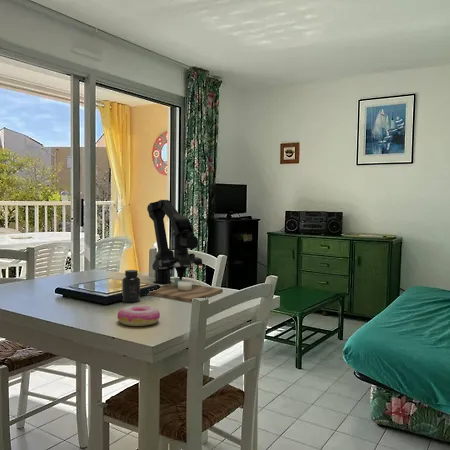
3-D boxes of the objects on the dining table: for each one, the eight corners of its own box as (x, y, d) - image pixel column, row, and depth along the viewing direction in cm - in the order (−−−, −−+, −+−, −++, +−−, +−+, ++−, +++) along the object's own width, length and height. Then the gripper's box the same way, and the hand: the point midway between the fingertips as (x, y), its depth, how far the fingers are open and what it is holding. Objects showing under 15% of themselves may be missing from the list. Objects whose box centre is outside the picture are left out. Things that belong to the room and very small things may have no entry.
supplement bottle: (141, 299, 181) (142, 269, 180) (136, 303, 174) (137, 272, 173) (125, 298, 181) (125, 268, 181) (119, 302, 175) (120, 271, 174)
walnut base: (144, 294, 190) (144, 290, 189) (177, 285, 210) (178, 281, 210) (192, 303, 178) (192, 298, 178) (222, 292, 199) (222, 288, 199)
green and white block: (193, 290, 193) (194, 282, 193) (180, 291, 190) (181, 283, 190) (182, 284, 204) (182, 277, 204) (169, 285, 201) (170, 277, 201)
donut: (167, 323, 150) (168, 308, 150) (135, 331, 140) (135, 315, 140) (142, 315, 159) (142, 301, 159) (110, 322, 149) (110, 307, 149)
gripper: (164, 249, 189) (165, 286, 191) (206, 247, 196) (206, 283, 198) (158, 246, 200) (158, 281, 201) (198, 244, 207) (198, 278, 208)
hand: (180, 281), depth 202 cm, fingers closed
